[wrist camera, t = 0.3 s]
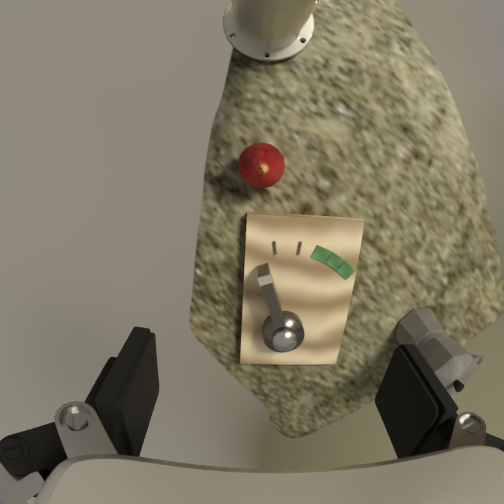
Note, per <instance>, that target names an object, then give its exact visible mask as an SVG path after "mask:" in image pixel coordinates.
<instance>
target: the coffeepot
mask: <svg viewBox="0 0 504 504" xmlns="http://www.w3.org/2000/svg"><path fill="white" fill-rule="evenodd" d="M395 339H396V340H397V341H398V342H399V343H400V344H414V345H415V346H416V347H417V349H418V350H419V352H420V353H421V354H422V356H423V357H424V359H425V360H426V361H427V363H428V364H429V366H430V367H431V368H432V370H433V371H434V373H435V374H436V376H437V377H438V378H439V380H440V381H441V383H442V384H443V386H444V387H445V389H446V390H447V392H448V393H449V395H452V394H453V393H454V392H455V391H456V392H460V391H461V390H462V389H463V388H464V384H465V383H466V382H467V381H468V379H469V377H470V375H471V373H472V372H473V371H474V370H475V369H476V368H477V367H478V366H479V364H480V363H481V362H482V359H483V355H482V356H477V355H474V354H470V353H469V352H468V351H467V350H466V349H464V348H463V347H462V346H461V345H459V344H458V343H457V342H456V341H454V340H453V339H452V338H450V337H449V336H446V335H445V333H444V331H443V329H442V327H441V325H440V324H439V322H438V320H437V318H436V317H435V315H434V314H433V312H432V310H431V309H430V308H417V309H413V310H412V311H410V312H409V313H408V314H406V315H405V316H404V317H403V318H402V320H401V321H400V322H399V324H398V327H397V330H396V336H395Z"/></svg>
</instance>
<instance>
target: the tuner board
mask: <svg viewBox="0 0 504 504" xmlns="http://www.w3.org/2000/svg"><path fill="white" fill-rule="evenodd" d="M363 227H364V221H363V220H362V219H354V218H341V217H328V216H313V215H298V214H282V213H264V212H247V226H246V246H245V267H244V288H243V310H242V332H241V354H240V363H244V364H282V365H308V364H336V360H337V356H338V353H339V349H340V344H341V340H342V336H343V332H344V328H345V323H346V319H347V314H348V310H349V305H350V300H351V295H352V290H353V285H354V280H355V275H356V269H357V264H358V258H359V252H360V246H361V240H362V234H363ZM265 263H268V265H269V268H270V271H271V274H272V278H273V281H274V284H275V287H276V291H277V294H278V297H279V300H280V304H281V307H282V310H283V311H290V312H293V313H295V314H296V315H297V316H298V317H299V318H300V319H301V321H302V325H303V328H304V333H305V336H304V340H303V342H302V343H301V345H300V346H299V347H297V348H296V349H294V350H292V351H289V352H284V353H280V352H275V351H273V350H271V349H269V348H268V347H267V346H266V345H265V343H264V340H263V323H264V321H265V320H266V318H267V317H268V316H270V312H269V309H268V306H267V303H266V300H265V297H264V294H263V291H262V288H261V286H260V285H259V282H258V279H257V278H258V270H257V266H258V265H262V264H265Z"/></svg>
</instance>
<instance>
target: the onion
mask: <svg viewBox="0 0 504 504" xmlns="http://www.w3.org/2000/svg"><path fill="white" fill-rule="evenodd" d="M238 167H239V170H240V173H241V176H242V177H243V179H244V180H245V181H246V182H247V183H248V184H250V185H252V186H254V187H258V188H267V187H271V186H272V185H274V184H275V183H277V182H278V181H279V180H280V178H281V177H282V175H283V172H284V167H285V164H284V158H283V156H282V154H281V153H280V151H279V150H278V149H277V148H275V147H274V146H272V145H270V144H267V143H256V144H253V145H251V146H249V147H247V148H246V149H245V150H244V151H243V153H242V154H241V156H240V159H239V166H238Z"/></svg>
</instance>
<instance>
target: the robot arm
mask: <svg viewBox="0 0 504 504" xmlns="http://www.w3.org/2000/svg"><path fill="white" fill-rule="evenodd" d="M317 2H318V0H231V2H230V3H229V4H228V6H227V8H226V10H225V12H224V17H223V28H224V32H225V34H226V37H227V39H228V41H229V42H230V43H231V45H232V46H233V47H234V48H235V49H236V50H237V51H239V52H240V53H242V54H243V55H245V56H247V57H250V58H252V59H256V60H260V61H268V62H270V61H280V60H285V59H288V58H290V57H293V56H295V55H296V54H298V53H299V52H301V51H302V50H303V49H304V48H305V47H306V46H307V44H308V43H309V41H310V39H311V37H312V35H313V31H314V19H313V15H312V11H313V9H314V7H315V5H316V4H317ZM232 36H234V37H235V38H231V37H232ZM300 41H303V42H304V43H301V42H300ZM265 55H268V56H269V57H265ZM155 341H156V340H155V334H154V333H151V332H150V329H148V328H141V327H134V328H133V330H132V332H131V333H130V335H129V337H128V339H127V340H126V342H125V344H124V346H123V348H122V349H121V351H120V353H119V355H118V357H117V358H116V357H110V358H109V360H108V361H107V363H106V364H105V366H104V368H103V370H102V371H101V373H100V375H99V377H98V378H97V380H96V382H95V384H94V386H93V388H92V389H91V391H90V393H89V395H88V397H87V398H86V400H85V402H77V401H74V402H69V403H66V404H63V405H62V406H61V407H60V408H58V410H57V411H56V413H55V416H54V419H55V422H52V423H49V424H46V425H43V426H40V427H37V428H33V429H30V430H26V431H23V432H19V433H16V434H12V435H9V436H7V437H4V438H3V439H2V440H1V441H0V504H28V503H27V502H26V501H27V500H29V499H30V498H31V497H36V499H35V501H34V504H504V440H502V439H500V438H498V437H495V436H493V435H490V434H488V433H486V424H485V421H484V420H483V419H482V418H481V417H480V416H479V415H477V414H475V413H473V412H462V413H460V414H459V415H458V414H457V413H456V411H457V410H458V407H457V405H456V404H455V402H454V401H453V399H452V398H451V396H450V395H449V393H448V392H447V390H446V389H445V387H444V386H443V384H442V383H441V381H440V380H439V378H438V377H437V376H436V374H435V373H434V371H433V370H432V368H431V367H430V366H429V364H428V363H427V361H426V360H425V359H424V357H423V356H422V354H421V353H420V352H419V350H418V349H417V347H416V346H415V345H414V344H401V345H400V346H399V347H398V348H396V349H395V351H394V353H393V356H392V358H391V361H390V363H389V366H388V368H387V371H386V373H385V376H384V378H383V380H382V383H381V385H380V387H379V390H378V392H377V394H376V397H375V404H376V406H377V409H378V411H379V413H380V416H381V418H382V420H383V423H384V425H385V428H386V430H387V432H388V435H389V437H390V440H391V442H392V445H393V447H394V450H395V452H396V454H397V457H398V459H395V460H389V461H382V462H375V463H368V464H360V465H351V466H340V467H329V468H310V469H246V468H228V467H216V466H206V465H196V464H187V463H179V462H172V461H165V460H159V459H152V458H144V457H139V455H140V452H141V449H142V445H143V442H144V439H145V435H146V432H147V429H148V426H149V422H150V419H151V416H152V413H153V410H154V406H155V403H156V400H157V397H158V393H159V378H158V367H157V355H156V342H155Z"/></svg>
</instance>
